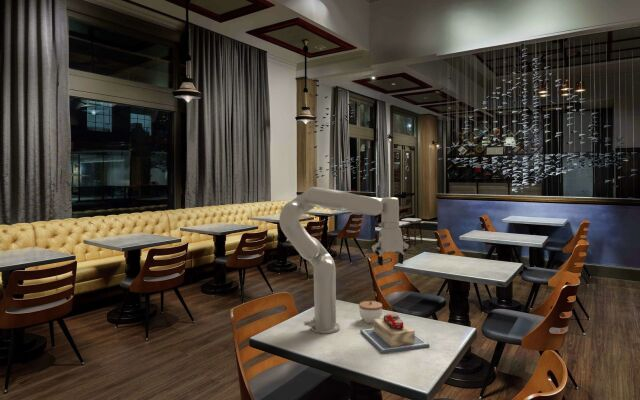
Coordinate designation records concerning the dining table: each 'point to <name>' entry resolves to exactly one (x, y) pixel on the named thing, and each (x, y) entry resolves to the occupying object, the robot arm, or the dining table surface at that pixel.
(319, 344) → the dining table surface
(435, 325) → the dining table surface
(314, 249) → the robot arm
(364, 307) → the lidded jar
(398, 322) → the race car
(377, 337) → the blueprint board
